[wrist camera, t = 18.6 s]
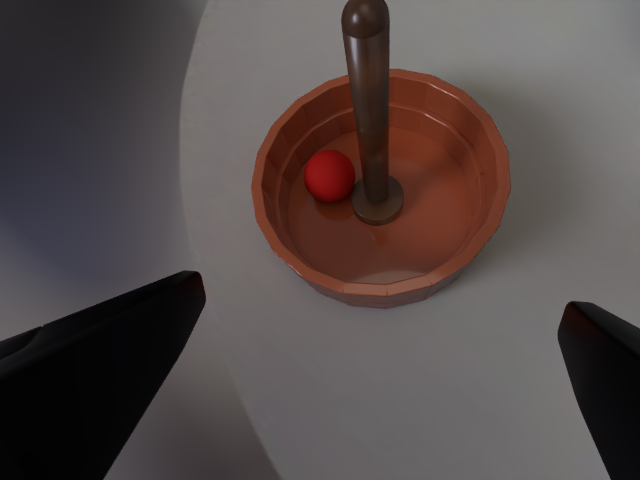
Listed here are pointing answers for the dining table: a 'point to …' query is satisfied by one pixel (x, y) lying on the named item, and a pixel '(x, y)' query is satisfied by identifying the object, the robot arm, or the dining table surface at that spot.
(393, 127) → the bowl
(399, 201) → the brown wooden rod
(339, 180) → the cherry tomato
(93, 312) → the robot arm
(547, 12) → the dining table surface
